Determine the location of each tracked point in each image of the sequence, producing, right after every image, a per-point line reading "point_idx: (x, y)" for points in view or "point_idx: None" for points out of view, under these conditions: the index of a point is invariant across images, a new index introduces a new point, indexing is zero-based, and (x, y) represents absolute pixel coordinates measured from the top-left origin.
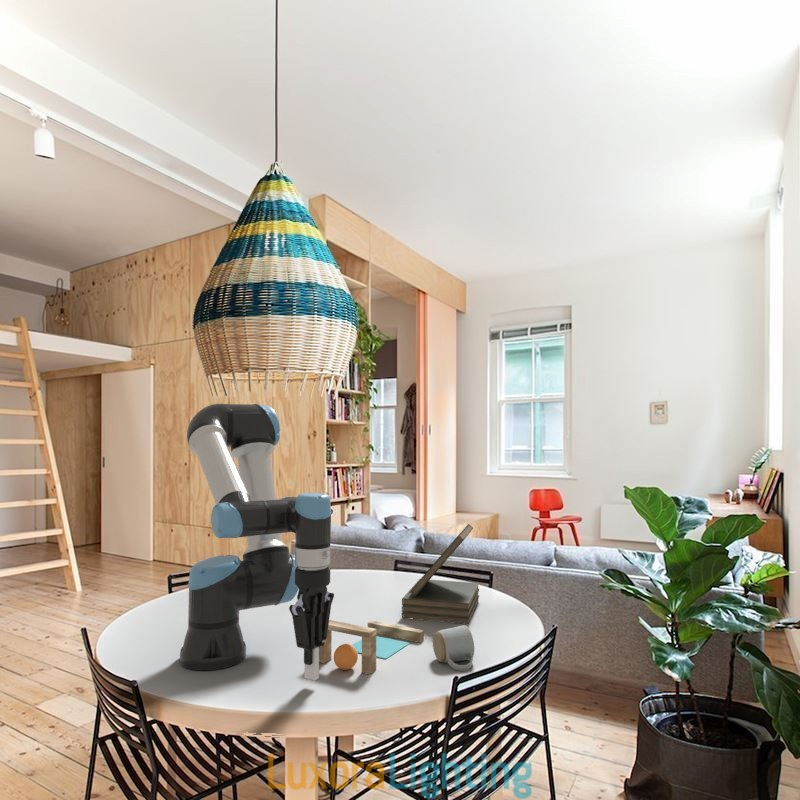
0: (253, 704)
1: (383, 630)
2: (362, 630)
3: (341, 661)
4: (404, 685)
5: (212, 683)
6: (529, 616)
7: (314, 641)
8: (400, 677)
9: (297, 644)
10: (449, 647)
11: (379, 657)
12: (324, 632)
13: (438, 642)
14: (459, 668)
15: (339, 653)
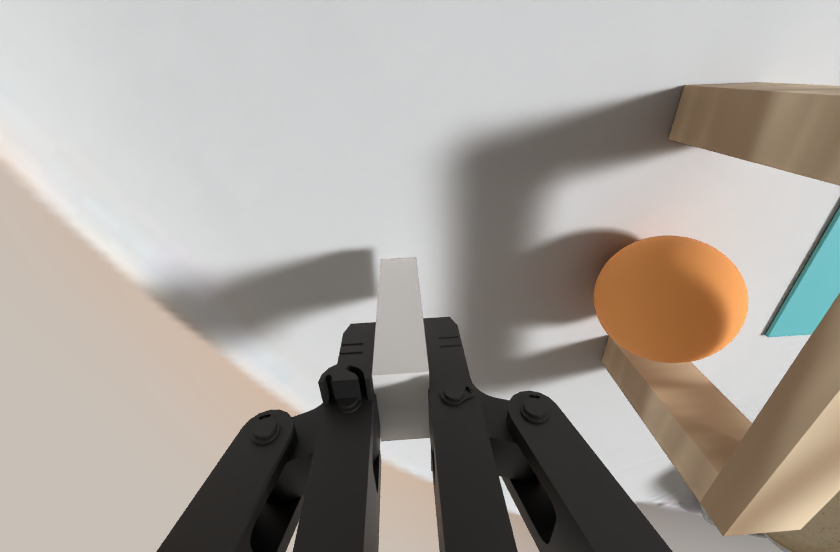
0: (84, 168)
1: None
2: (764, 502)
3: (600, 313)
4: None
5: None
6: None
7: (378, 493)
8: (610, 431)
9: (235, 448)
10: (771, 540)
11: (780, 311)
12: (526, 515)
13: (810, 521)
14: (700, 506)
15: (631, 320)
